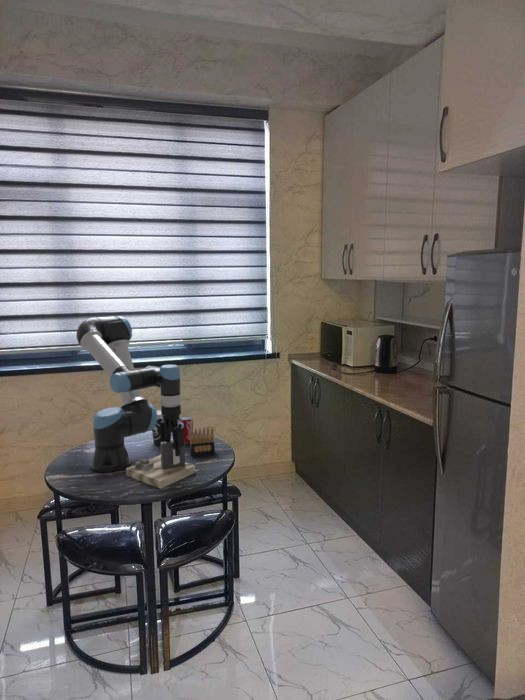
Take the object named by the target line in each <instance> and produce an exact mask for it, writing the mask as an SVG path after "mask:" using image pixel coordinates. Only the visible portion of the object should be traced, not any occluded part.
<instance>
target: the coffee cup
mask: <svg viewBox="0 0 525 700" xmlns="http://www.w3.org/2000/svg"><path fill="white" fill-rule="evenodd" d="M156 412H157V422H156V425H155V427H154V429H152V430H151V432H152V439H153V444H155V446H158V445H160V443H161V438H160V424H159V421H158V419H159V418H162V417H163V415H162V414H161V409H158V410H157V409H156ZM163 439H164V438H163Z"/></svg>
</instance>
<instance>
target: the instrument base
mask: <svg viewBox="0 0 525 700" xmlns="http://www.w3.org/2000/svg"><path fill="white" fill-rule="evenodd" d="M125 473H126V474H125V476H126V477H129V478H132V479H133V480H137V481H140V482H143V483H145V484H147V485H151V486H153V487H155V488H158V489H163V488H165V487H168V486H170V485H172V484H174V483H176V482H178V481H181V480H182V479H185V478H187V477H189V476H191V475H193V474H195V473H196V465H194V464H193V463H188V462H186V461H185V465H181V466H176V467H171V468H166V469H163V468H162V467H161V454H159V455H157V456H153V457H151V458H149V459H147V458H142V457H141V458H139V460H138V461H136V462H134V465H131V466H127V467H125Z"/></svg>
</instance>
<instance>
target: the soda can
mask: <svg viewBox="0 0 525 700" xmlns="http://www.w3.org/2000/svg"><path fill="white" fill-rule="evenodd" d="M179 418H180V422H181V423H185V428H184V443H185V445H190V444H189V443H190V437H191V429H193V430H194V419H193V418H192V416H187V415H186V416H181V417H179Z"/></svg>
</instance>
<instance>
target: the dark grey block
mask: <svg viewBox="0 0 525 700" xmlns="http://www.w3.org/2000/svg"><path fill="white" fill-rule="evenodd" d="M185 445H186V444H185V443H184V447H181V448H180V463H178V464H175V465H174V464H173V448H174V443H173V440H171V441H167V442H166V441H165V442H161V443H160V446H159V447H160V455H161V467H162V468H163V469H166V468H171V467H176V466H181V465H185V462H186V449H185V448H186V447H185Z"/></svg>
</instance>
